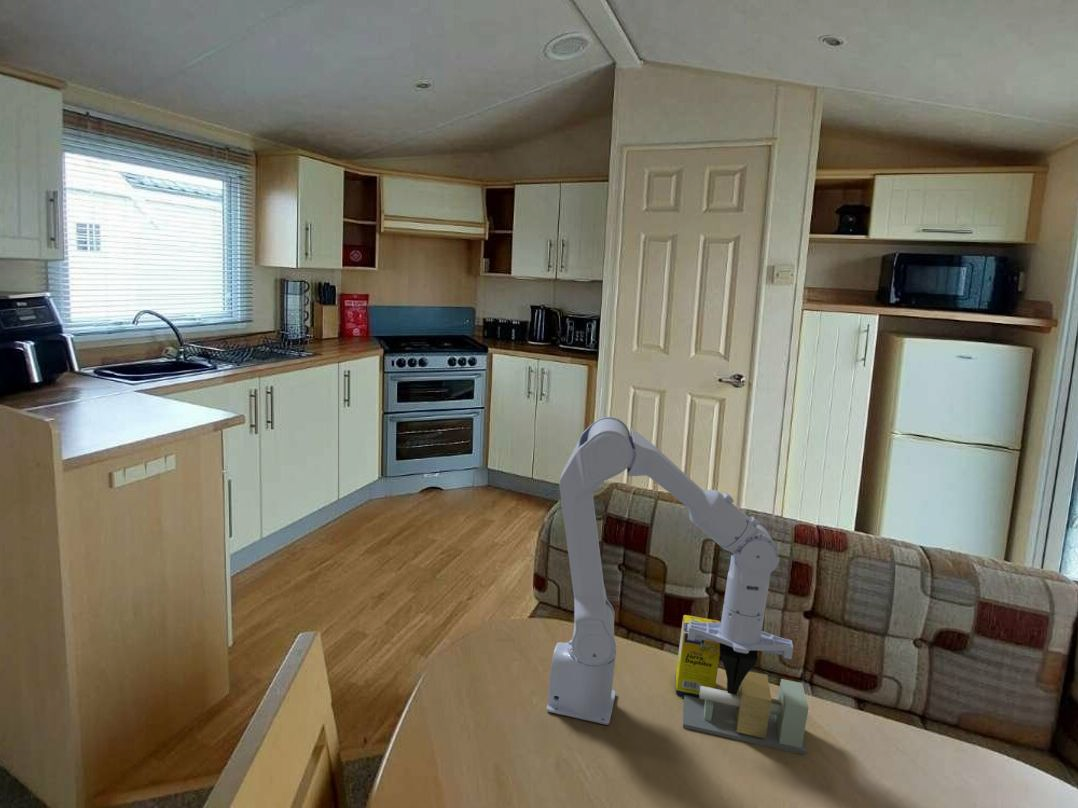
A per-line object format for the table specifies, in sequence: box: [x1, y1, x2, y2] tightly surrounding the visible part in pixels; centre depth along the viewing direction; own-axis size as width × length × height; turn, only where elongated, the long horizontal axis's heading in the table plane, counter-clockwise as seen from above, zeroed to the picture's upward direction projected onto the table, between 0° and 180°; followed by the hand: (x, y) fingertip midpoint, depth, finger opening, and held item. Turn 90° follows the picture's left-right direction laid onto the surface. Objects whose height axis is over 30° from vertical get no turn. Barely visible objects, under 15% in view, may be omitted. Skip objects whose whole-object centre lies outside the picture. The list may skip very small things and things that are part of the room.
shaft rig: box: [682, 678, 809, 756], centre depth 96 cm, size 17×7×7 cm, turn 76°
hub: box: [735, 670, 773, 738], centre depth 96 cm, size 4×6×6 cm, turn 166°
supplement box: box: [675, 614, 721, 698], centre depth 104 cm, size 6×6×11 cm
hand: (731, 689), depth 96 cm, fingers closed
